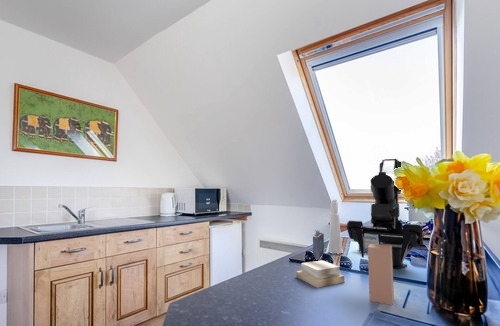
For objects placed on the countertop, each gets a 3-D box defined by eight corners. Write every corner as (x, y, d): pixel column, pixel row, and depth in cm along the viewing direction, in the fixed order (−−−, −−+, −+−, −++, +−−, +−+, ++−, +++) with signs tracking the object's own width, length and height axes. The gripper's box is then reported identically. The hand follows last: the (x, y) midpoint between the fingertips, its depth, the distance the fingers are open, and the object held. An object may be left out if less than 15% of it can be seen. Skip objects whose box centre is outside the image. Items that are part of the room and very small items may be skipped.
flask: (318, 261, 107) (318, 232, 108) (311, 260, 108) (310, 231, 109) (325, 255, 115) (324, 228, 116) (317, 255, 116) (317, 228, 117)
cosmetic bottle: (337, 255, 115) (335, 200, 117) (325, 252, 120) (323, 199, 122) (346, 253, 119) (344, 199, 121) (333, 250, 124) (332, 199, 125)
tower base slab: (322, 274, 93) (322, 266, 93) (344, 284, 84) (344, 275, 84) (296, 279, 89) (296, 271, 89) (317, 290, 80) (317, 281, 80)
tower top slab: (322, 268, 92) (322, 260, 92) (339, 275, 85) (339, 266, 85) (301, 271, 89) (301, 263, 89) (317, 279, 82) (317, 270, 82)
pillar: (372, 293, 75) (370, 243, 76) (393, 297, 73) (391, 245, 74) (369, 300, 71) (367, 247, 72) (392, 305, 68) (389, 249, 69)
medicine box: (358, 251, 122) (357, 230, 123) (359, 249, 126) (359, 229, 126) (378, 253, 118) (378, 232, 119) (379, 251, 122) (378, 230, 123)
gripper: (347, 192, 85) (338, 236, 75) (420, 193, 75) (422, 243, 65) (353, 217, 91) (346, 260, 81) (422, 220, 81) (424, 270, 71)
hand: (381, 258), depth 74 cm, fingers open, 9 cm apart
